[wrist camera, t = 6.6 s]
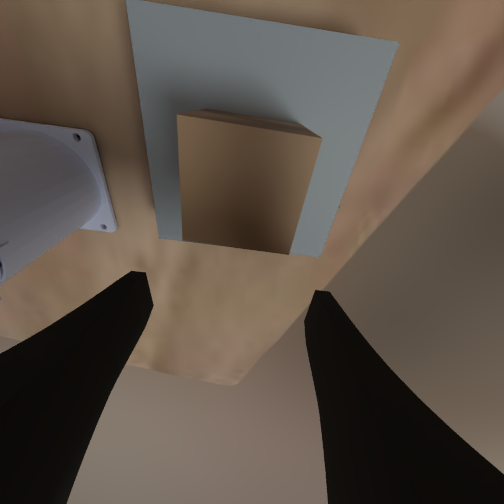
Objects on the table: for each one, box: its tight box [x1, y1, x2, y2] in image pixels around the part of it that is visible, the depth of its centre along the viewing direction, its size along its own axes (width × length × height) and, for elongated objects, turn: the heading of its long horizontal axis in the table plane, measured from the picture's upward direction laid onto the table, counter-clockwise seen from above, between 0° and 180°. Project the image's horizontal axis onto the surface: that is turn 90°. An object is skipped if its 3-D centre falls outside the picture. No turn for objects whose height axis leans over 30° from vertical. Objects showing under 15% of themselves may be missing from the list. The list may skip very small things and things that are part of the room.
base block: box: [126, 0, 400, 257], centre depth 15 cm, size 12×12×4 cm
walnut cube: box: [177, 108, 323, 255], centre depth 11 cm, size 5×5×5 cm
